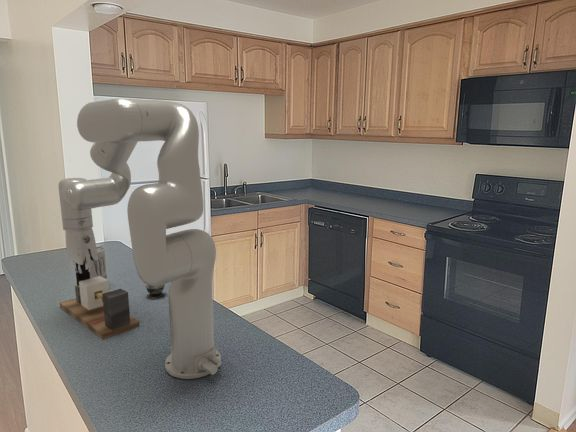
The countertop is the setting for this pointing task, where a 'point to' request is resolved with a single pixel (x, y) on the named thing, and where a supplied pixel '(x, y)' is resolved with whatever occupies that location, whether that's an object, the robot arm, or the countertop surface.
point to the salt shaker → (155, 291)
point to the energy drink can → (99, 264)
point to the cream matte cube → (92, 291)
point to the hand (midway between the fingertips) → (83, 284)
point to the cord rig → (103, 313)
